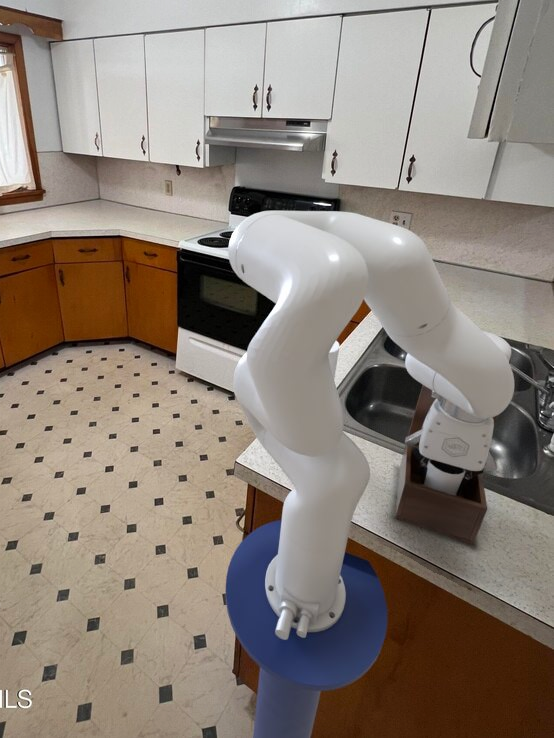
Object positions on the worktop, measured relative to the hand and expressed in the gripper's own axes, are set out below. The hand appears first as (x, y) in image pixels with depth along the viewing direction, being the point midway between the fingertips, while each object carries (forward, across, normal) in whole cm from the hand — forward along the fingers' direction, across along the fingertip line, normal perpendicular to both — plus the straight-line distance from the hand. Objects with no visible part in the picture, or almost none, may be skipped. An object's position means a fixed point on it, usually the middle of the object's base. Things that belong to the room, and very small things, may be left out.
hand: (439, 482), depth 78 cm
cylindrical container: (+6, -26, +6) cm, 27 cm away
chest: (+5, 0, 0) cm, 5 cm away
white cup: (+5, 0, 0) cm, 5 cm away
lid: (-10, 0, +5) cm, 11 cm away
